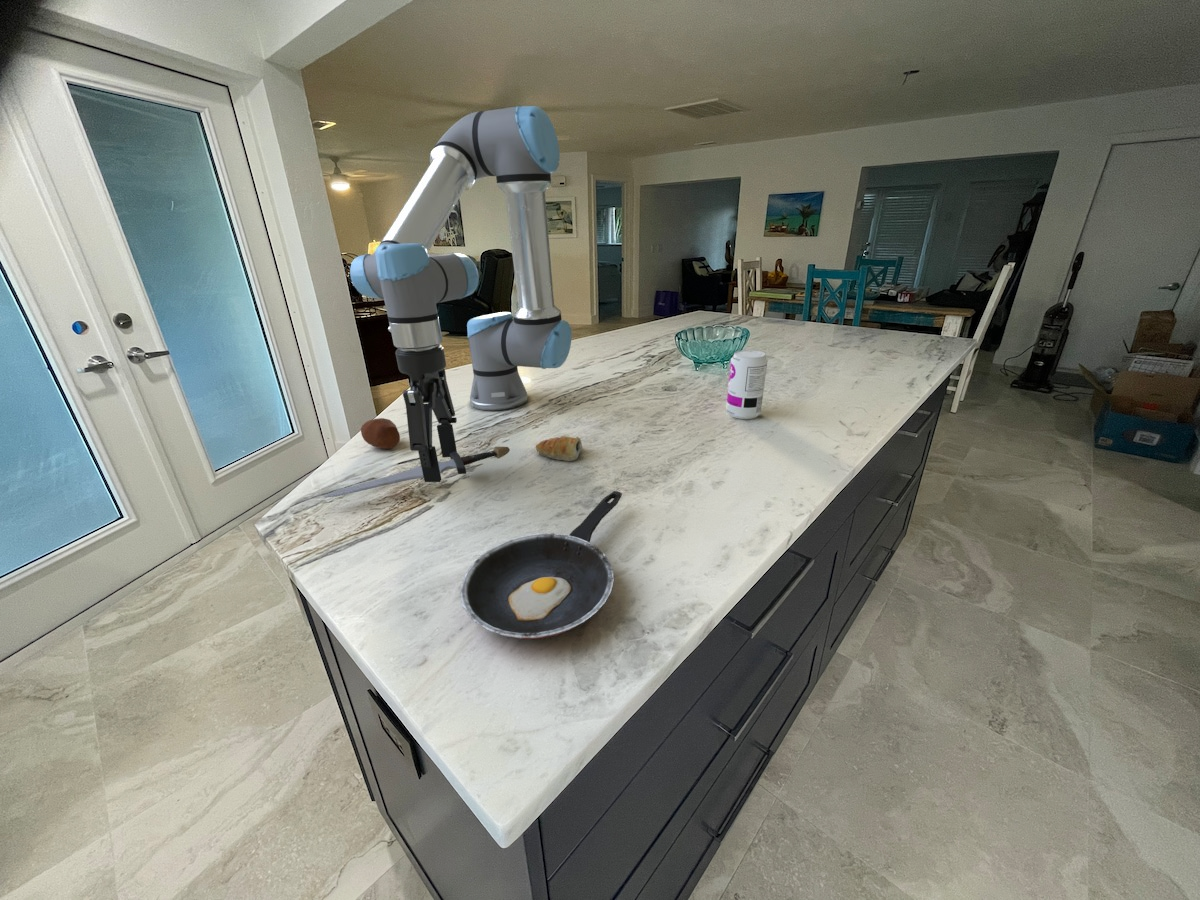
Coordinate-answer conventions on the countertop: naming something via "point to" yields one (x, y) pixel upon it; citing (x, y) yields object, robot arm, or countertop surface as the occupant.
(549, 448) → the pastry
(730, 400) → the supplement can
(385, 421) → the potato
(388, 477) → the dagger
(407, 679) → the countertop surface
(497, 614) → the frying pan
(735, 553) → the countertop surface
